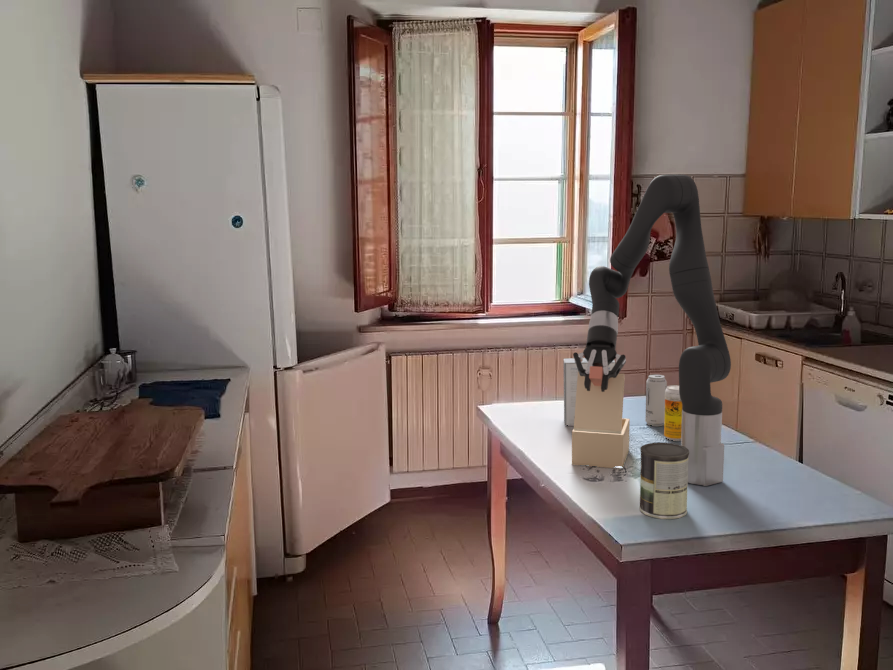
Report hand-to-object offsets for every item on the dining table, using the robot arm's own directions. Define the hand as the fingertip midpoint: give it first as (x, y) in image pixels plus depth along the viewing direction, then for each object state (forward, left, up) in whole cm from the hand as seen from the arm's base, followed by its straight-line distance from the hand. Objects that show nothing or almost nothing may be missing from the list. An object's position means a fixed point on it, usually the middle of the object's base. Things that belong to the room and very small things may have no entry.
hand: (595, 389), depth 200 cm
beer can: (+10, -38, -22) cm, 45 cm away
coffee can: (-28, +4, -22) cm, 35 cm away
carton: (+8, -9, -22) cm, 25 cm away
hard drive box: (+36, -28, -22) cm, 51 cm away
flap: (+5, -6, -5) cm, 9 cm away
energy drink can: (+24, -44, -22) cm, 55 cm away
